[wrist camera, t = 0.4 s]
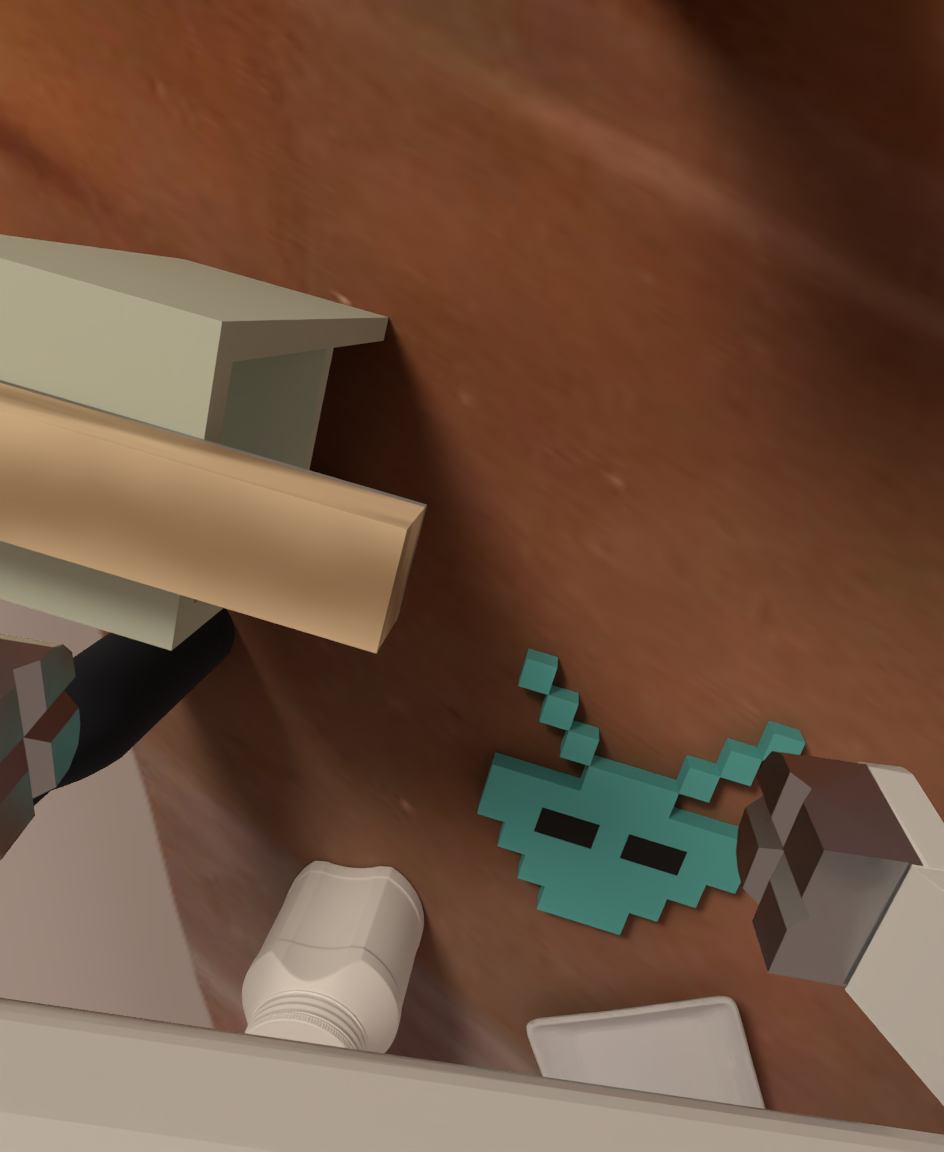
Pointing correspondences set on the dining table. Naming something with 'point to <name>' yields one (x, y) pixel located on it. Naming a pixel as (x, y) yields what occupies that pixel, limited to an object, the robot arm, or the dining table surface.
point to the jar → (337, 959)
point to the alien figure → (616, 818)
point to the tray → (653, 1050)
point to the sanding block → (203, 519)
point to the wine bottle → (135, 690)
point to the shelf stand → (161, 387)
